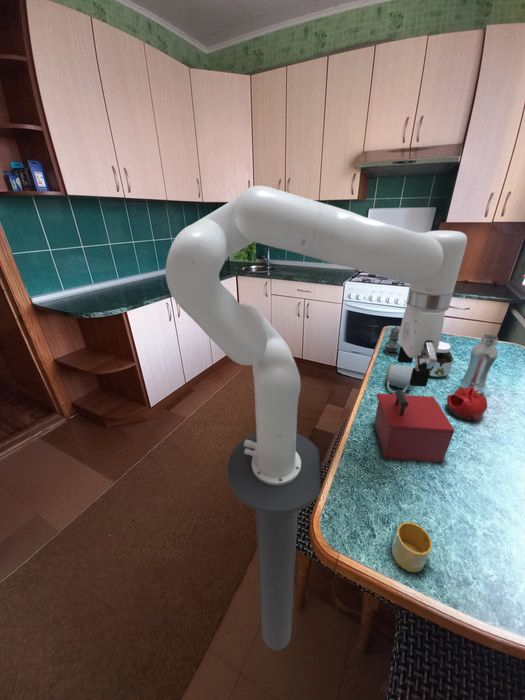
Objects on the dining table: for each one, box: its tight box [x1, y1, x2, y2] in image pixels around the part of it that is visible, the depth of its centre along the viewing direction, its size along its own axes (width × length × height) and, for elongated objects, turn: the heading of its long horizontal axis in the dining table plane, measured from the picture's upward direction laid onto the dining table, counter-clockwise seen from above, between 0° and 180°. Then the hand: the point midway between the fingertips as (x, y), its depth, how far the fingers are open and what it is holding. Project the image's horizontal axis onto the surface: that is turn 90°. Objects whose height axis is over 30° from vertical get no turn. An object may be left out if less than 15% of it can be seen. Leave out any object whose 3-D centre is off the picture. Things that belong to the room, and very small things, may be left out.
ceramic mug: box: [384, 363, 415, 395], centre depth 97 cm, size 11×8×8 cm
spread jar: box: [419, 340, 454, 379], centre depth 105 cm, size 12×11×12 cm
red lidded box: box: [373, 401, 454, 464], centre depth 75 cm, size 14×13×10 cm
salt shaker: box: [383, 326, 401, 357], centre depth 118 cm, size 6×6×12 cm
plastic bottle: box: [459, 334, 499, 395], centre depth 91 cm, size 6×7×20 cm
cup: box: [391, 521, 433, 573], centre depth 51 cm, size 5×6×6 cm
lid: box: [376, 389, 455, 434], centre depth 71 cm, size 14×13×5 cm
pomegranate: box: [446, 385, 488, 421], centre depth 85 cm, size 10×10×9 cm
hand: (410, 373), depth 65 cm, fingers open, 9 cm apart
